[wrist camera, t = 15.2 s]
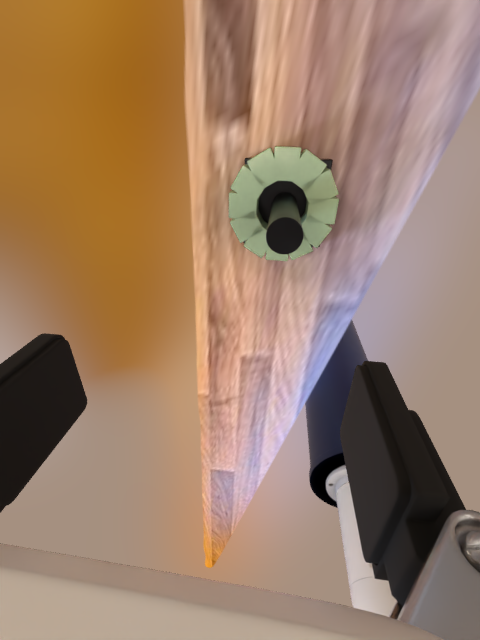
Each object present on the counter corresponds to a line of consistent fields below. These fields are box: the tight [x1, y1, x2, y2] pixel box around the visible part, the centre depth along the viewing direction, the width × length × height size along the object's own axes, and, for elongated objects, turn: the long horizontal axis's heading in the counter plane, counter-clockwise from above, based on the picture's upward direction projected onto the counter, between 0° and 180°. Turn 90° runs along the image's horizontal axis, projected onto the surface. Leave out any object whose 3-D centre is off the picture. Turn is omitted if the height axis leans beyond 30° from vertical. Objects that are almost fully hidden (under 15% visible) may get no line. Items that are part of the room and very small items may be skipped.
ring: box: [229, 146, 339, 261], centre depth 28 cm, size 10×10×3 cm
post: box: [243, 158, 332, 255], centre depth 25 cm, size 8×8×13 cm
